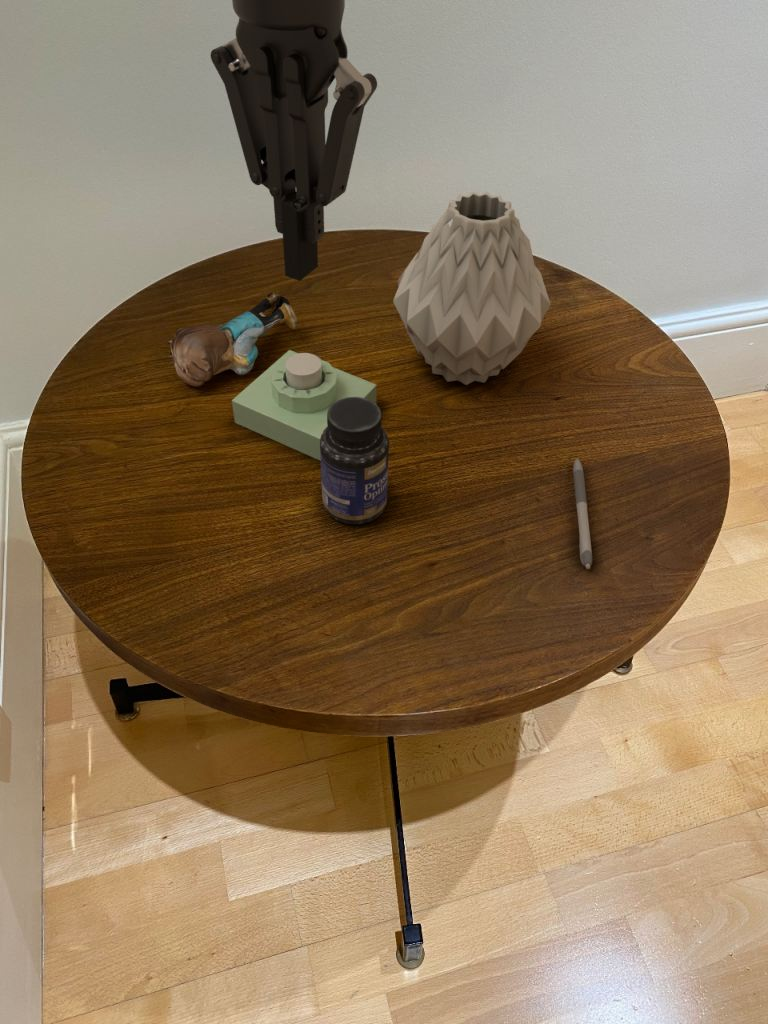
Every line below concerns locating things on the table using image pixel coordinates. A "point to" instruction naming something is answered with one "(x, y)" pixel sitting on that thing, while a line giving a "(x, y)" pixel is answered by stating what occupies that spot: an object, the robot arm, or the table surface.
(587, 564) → the pen
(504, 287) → the vase
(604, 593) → the table surface
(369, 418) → the pill bottle
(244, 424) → the green base with collar
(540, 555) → the table surface
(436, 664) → the table surface
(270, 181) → the robot arm
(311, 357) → the cylinder peg
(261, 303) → the figurine
